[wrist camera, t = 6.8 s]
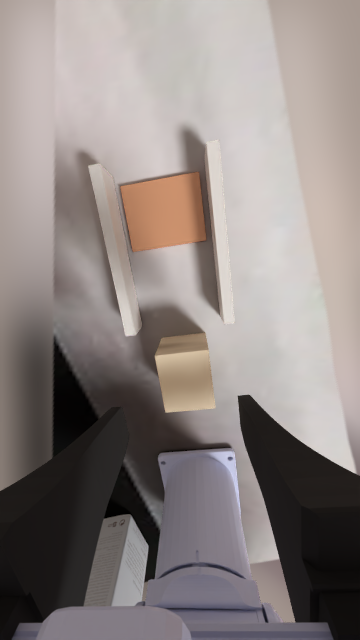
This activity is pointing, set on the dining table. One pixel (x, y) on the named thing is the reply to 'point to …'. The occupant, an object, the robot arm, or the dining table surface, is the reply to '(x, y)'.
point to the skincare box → (118, 564)
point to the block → (185, 373)
